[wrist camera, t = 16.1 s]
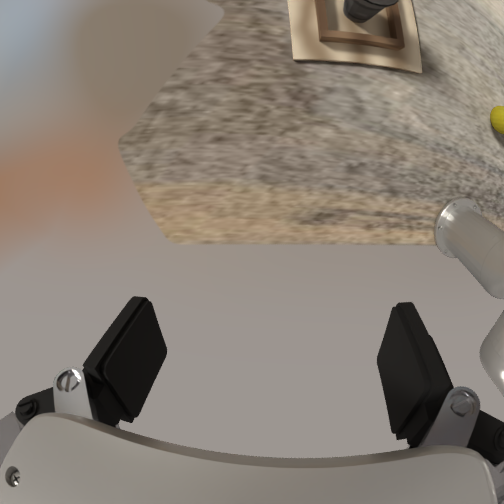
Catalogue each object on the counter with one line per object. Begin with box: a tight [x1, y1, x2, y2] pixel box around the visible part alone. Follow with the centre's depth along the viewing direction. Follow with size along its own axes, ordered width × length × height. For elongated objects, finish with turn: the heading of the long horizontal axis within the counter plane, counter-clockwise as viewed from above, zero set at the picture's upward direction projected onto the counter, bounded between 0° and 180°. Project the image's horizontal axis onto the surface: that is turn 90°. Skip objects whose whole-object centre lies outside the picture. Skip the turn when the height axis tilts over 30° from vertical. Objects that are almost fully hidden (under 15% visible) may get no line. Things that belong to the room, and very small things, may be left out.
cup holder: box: [288, 0, 422, 74], centre depth 28 cm, size 22×20×4 cm
